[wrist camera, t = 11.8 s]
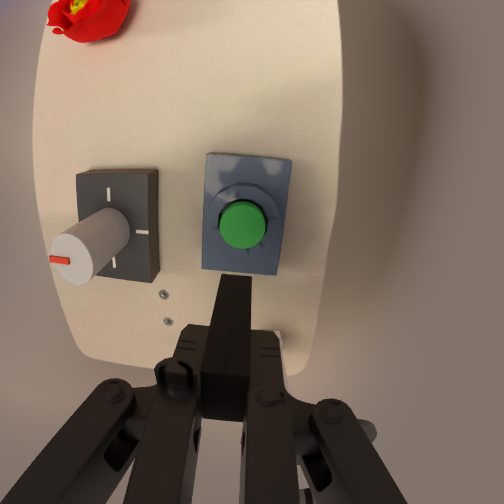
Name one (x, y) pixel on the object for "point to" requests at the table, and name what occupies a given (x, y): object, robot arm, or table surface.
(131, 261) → the dial panel
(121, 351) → the table surface
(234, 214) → the button
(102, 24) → the flower
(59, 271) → the dial
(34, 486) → the robot arm
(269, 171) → the button block
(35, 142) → the table surface
